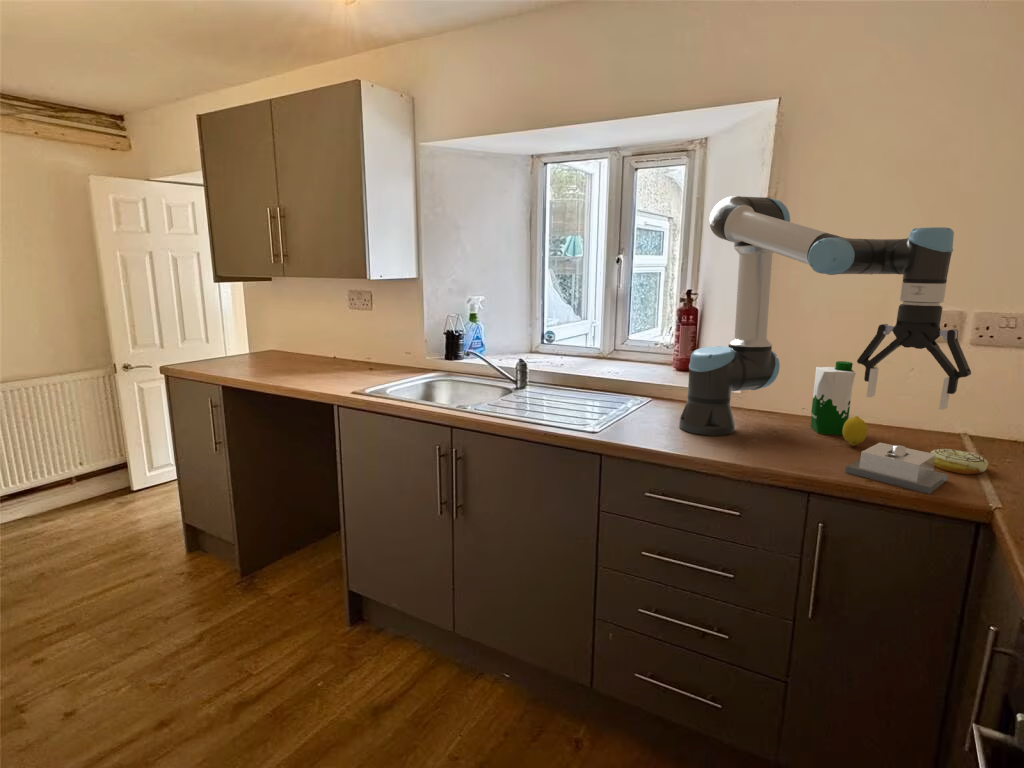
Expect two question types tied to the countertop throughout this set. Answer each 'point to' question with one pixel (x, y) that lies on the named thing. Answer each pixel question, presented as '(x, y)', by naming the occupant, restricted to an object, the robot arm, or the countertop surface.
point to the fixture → (922, 486)
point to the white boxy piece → (897, 462)
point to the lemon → (854, 430)
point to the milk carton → (832, 398)
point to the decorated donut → (959, 461)
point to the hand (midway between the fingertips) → (905, 402)
